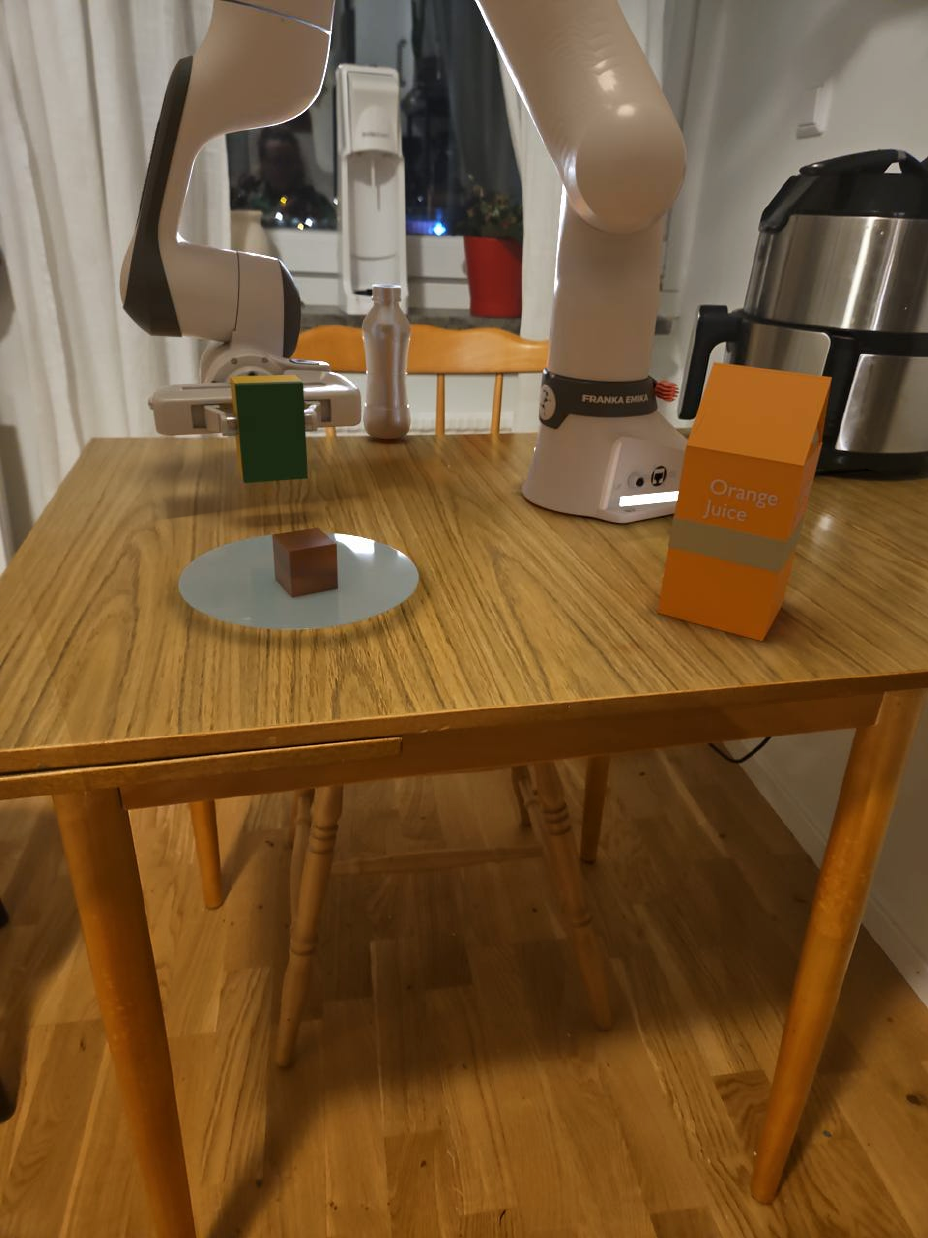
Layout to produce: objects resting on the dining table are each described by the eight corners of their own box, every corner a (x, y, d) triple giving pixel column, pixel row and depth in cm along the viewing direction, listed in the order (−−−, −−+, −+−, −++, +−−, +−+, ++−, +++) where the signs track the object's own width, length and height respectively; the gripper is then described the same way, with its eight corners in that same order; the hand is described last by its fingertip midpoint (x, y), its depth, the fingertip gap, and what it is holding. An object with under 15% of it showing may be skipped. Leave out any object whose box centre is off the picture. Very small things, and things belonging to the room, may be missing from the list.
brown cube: (319, 570, 70) (318, 527, 68) (338, 588, 67) (337, 543, 65) (274, 579, 68) (271, 534, 66) (291, 597, 65) (289, 551, 63)
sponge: (299, 466, 81) (295, 374, 77) (307, 478, 78) (303, 382, 74) (238, 471, 79) (230, 376, 75) (244, 483, 76) (235, 384, 72)
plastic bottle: (403, 446, 111) (405, 289, 102) (356, 441, 112) (354, 285, 103) (415, 434, 117) (418, 285, 108) (370, 430, 118) (369, 282, 109)
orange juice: (683, 582, 74) (725, 355, 65) (782, 607, 70) (842, 370, 61) (655, 613, 68) (698, 368, 59) (762, 642, 64) (825, 385, 55)
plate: (382, 535, 81) (382, 524, 81) (451, 624, 65) (452, 610, 64) (171, 555, 74) (170, 542, 74) (189, 659, 58) (188, 645, 57)
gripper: (142, 366, 82) (147, 395, 70) (341, 361, 89) (375, 386, 77) (151, 428, 85) (157, 465, 73) (343, 419, 92) (376, 451, 80)
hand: (271, 425), depth 75 cm, fingers closed on sponge, 6 cm apart
